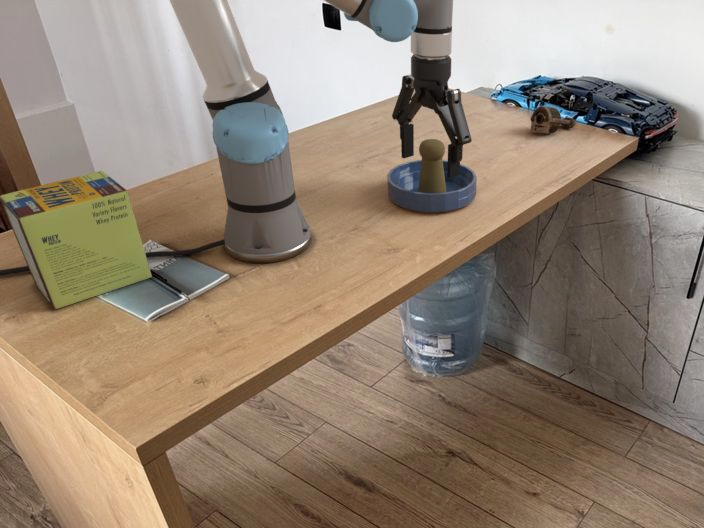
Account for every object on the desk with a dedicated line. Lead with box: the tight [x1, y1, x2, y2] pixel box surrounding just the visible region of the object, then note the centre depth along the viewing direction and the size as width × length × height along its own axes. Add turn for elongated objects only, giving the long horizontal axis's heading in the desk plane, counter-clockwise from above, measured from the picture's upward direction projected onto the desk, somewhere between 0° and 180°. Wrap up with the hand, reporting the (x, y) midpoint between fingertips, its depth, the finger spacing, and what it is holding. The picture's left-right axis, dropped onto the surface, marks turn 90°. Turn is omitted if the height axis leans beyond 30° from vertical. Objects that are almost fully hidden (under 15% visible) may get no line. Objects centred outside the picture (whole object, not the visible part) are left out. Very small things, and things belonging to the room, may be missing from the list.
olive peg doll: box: [418, 138, 447, 193], centre depth 137 cm, size 6×6×11 cm
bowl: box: [386, 159, 478, 214], centre depth 140 cm, size 18×18×4 cm
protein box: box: [0, 170, 153, 310], centre depth 106 cm, size 10×15×16 cm
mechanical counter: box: [529, 105, 577, 135], centre depth 173 cm, size 7×13×10 cm
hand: (429, 166), depth 137 cm, fingers open, 13 cm apart
